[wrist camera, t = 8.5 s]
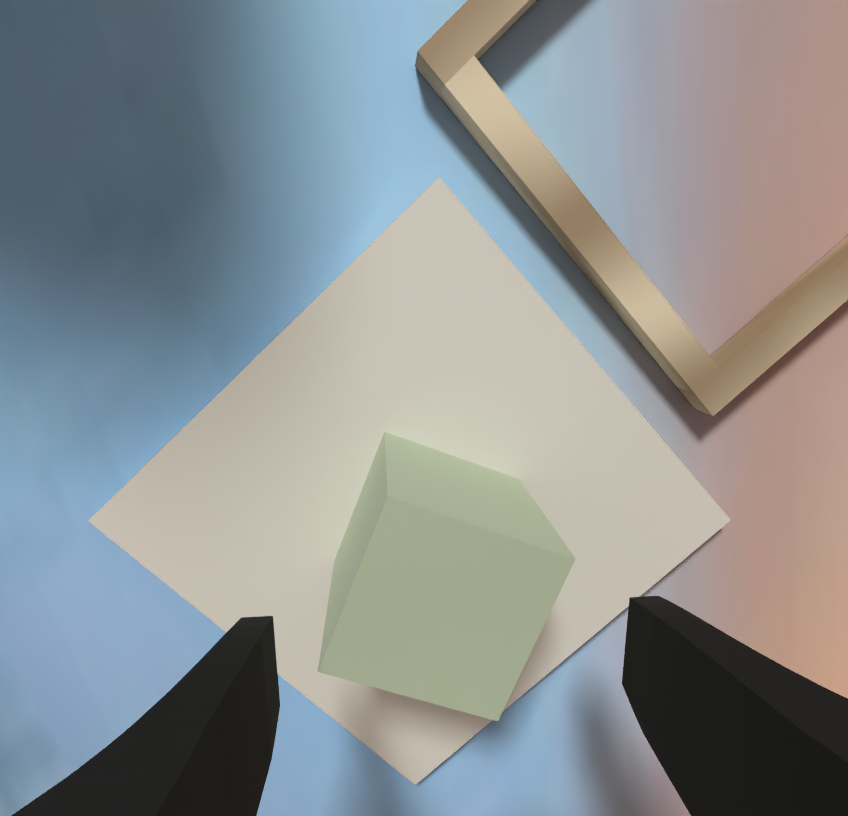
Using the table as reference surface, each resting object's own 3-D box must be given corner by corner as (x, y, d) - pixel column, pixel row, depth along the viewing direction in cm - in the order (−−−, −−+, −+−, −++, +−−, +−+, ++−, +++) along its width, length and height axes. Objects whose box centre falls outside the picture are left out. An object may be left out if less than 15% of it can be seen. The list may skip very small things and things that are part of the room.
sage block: (519, 478, 17) (575, 558, 12) (465, 600, 18) (497, 721, 13) (384, 431, 16) (387, 495, 12) (334, 560, 17) (317, 671, 12)
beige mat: (719, 512, 19) (730, 519, 18) (414, 770, 20) (415, 785, 19) (436, 180, 16) (439, 177, 15) (98, 512, 17) (87, 521, 16)
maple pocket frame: (1037, 110, 16) (1078, 99, 15) (694, 408, 18) (713, 416, 17) (804, -328, 14) (837, -375, 13) (415, 66, 15) (417, 51, 14)
